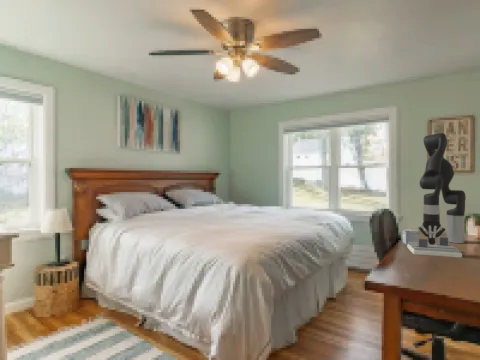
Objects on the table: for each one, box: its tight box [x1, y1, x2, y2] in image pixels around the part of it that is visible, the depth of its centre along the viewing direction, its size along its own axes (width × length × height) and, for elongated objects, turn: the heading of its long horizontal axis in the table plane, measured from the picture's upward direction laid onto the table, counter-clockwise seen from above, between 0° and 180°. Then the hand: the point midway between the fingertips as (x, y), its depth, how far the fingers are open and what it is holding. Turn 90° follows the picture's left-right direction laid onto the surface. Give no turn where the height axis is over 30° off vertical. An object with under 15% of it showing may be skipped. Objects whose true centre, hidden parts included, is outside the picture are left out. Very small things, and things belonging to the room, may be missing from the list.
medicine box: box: [402, 229, 420, 245], centre depth 181 cm, size 8×4×9 cm, turn 84°
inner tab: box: [437, 235, 449, 246], centre depth 162 cm, size 3×4×6 cm
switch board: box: [406, 242, 463, 258], centre depth 160 cm, size 16×22×4 cm
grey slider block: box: [418, 237, 428, 248], centre depth 159 cm, size 3×4×6 cm
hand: (431, 244), depth 157 cm, fingers closed
